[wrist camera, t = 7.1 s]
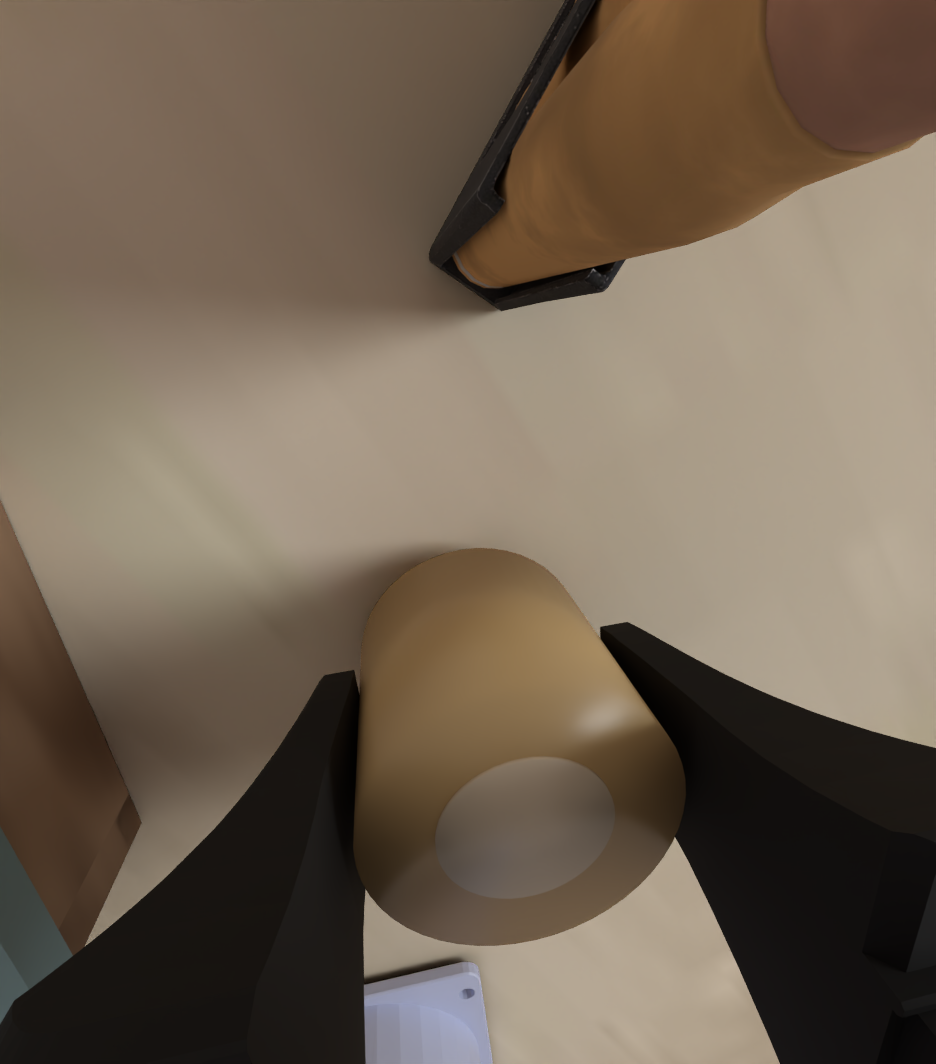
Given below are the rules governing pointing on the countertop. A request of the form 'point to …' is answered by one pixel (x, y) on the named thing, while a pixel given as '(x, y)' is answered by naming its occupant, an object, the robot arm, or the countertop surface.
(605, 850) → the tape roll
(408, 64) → the countertop surface
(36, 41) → the countertop surface
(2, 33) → the countertop surface
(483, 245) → the ammunition clip
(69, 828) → the walnut box
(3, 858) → the lid
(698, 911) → the countertop surface
